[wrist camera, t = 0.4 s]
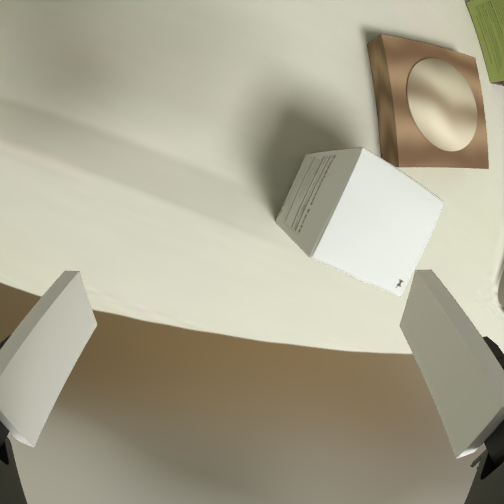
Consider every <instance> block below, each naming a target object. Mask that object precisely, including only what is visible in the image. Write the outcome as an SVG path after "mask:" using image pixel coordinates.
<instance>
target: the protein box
mask: <svg viewBox="0 0 504 504" xmlns="http://www.w3.org/2000/svg"><path fill="white" fill-rule="evenodd" d="M466 5H467V7H468V10H469V12H470V15H471V18H472V21H473V23H474V26H475V29H476V32H477V35H478V39H479V42H480V45H481V49H482V52H483V55H484V59H485V63H486V67H487V71H488V75H489V79H490V82H491V83H494V84H498V85H502V86H504V0H470V1H468V2H466Z"/></svg>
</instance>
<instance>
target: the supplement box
mask: <svg viewBox="0 0 504 504" xmlns="http://www.w3.org/2000/svg"><path fill="white" fill-rule="evenodd" d="M443 205H444V201H443V200H441V199H440V198H439V197H437V196H436V195H435V194H433V193H432V192H431V191H429V190H428V189H426V188H425V187H424V186H422V185H421V184H419V183H418V182H417V181H415V180H414V179H412V178H411V177H409V176H408V175H406V174H405V173H403V172H402V171H401V170H399V169H397V168H396V167H394V166H393V165H391V164H390V163H388V162H387V161H385V160H384V159H382V158H380V157H379V156H377V155H375V154H374V153H372V152H370V151H369V150H367V149H365V148H364V147H359V148H350V149H342V150H333V151H325V152H317V153H311V154H306V155H305V157H304V159H303V162H302V164H301V166H300V168H299V170H298V173H297V175H296V177H295V179H294V181H293V184H292V186H291V188H290V190H289V192H288V195H287V197H286V199H285V201H284V203H283V206H282V208H281V210H280V212H279V214H278V217H277V219H276V221H275V222H276V224H277V225H278V226H279V227H280V228H282V230H283V231H284V232H285V233H286V234H287V235H288V236H289V237H290V238H291V239H292V240H293V241H294V242H295V243H296V244H297V245H298V246H299V247H300V248H301V249H302V250H303V251H304V252H305V253H306V254H307V255H308V256H309V257H310V258H311V259H312V260H315V261H317V262H319V263H322V264H324V265H326V266H329V267H331V268H333V269H335V270H338V271H340V272H342V273H345V274H347V275H349V276H351V277H354V278H355V279H357V280H359V281H362V282H365V283H367V284H370V285H372V286H374V287H376V288H379V289H381V290H383V291H385V292H388V293H390V294H392V295H395V296H397V297H401V295H402V293H403V291H404V289H405V287H406V285H407V283H408V281H409V279H410V277H411V275H412V273H413V271H414V269H415V267H416V265H417V263H418V261H419V259H420V257H421V255H422V253H423V251H424V249H425V247H426V244H427V242H428V240H429V238H430V236H431V234H432V232H433V230H434V228H435V225H436V223H437V221H438V219H439V216H440V213H441V211H442V208H443Z"/></svg>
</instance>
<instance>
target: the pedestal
mask: <svg viewBox="0 0 504 504" xmlns="http://www.w3.org/2000/svg"><path fill="white" fill-rule="evenodd" d="M367 46H368V52H369V57H370V63H371V69H372V75H373V82H374V89H375V96H376V104H377V112H378V121H379V132H380V143H381V156H382V159H384V160H385V161H387V162H388V163H390V164H391V165H393V166H394V167H450V168H480V169H489V163H488V144H487V132H486V121H485V113H484V105H483V98H482V91H481V85H480V80H479V74H478V69H477V64H476V60H475V58H474V57H471V56H468V55H465V54H462V53H459V52H456V51H452V50H449V49H446V48H442V47H438V46H435V45H431V44H427V43H423V42H418V41H414V40H409V39H405V38H400V37H395V36H389V35H384V34H381V35H380V36H378V37H377V38H375V39H374V40H373V41H371V42H370V43H368V44H367Z"/></svg>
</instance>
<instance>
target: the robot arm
mask: <svg viewBox="0 0 504 504" xmlns="http://www.w3.org/2000/svg"><path fill="white" fill-rule="evenodd" d="M96 326H97V322H96V320H95V317H94V314H93V311H92V309H91V306H90V303H89V300H88V297H87V294H86V291H85V288H84V285H83V281H82V278H81V275H80V272H79V271H64V272H63V274H62V275H61V276H60V277H59V278H58V279H57V280H56V281H55V282H54V284H53V285H52V286H51V287H50V288H49V289H48V290H47V292H46V293H45V294H44V295H43V296H42V297H41V299H40V300H39V301H38V302H37V303H36V305H35V306H34V307H33V308H32V309H31V311H30V312H29V313H28V314H27V316H26V317H25V318H24V319H23V321H22V322H21V323H20V325H19V326H18V327H17V328H16V330H15V331H14V332H13V333H12V334H11V335H10V336H9V337H7V338H6V339H5V340H4V341H2V342H1V343H0V504H27V501H26V498H25V495H24V492H23V489H22V485H21V482H20V478H19V475H18V471H17V467H16V463H15V459H14V455H13V450H12V445H11V442H10V440H9V439H8V437H7V435H8V433H9V432H10V433H11V434H12V435H13V436H14V437H15V438H16V439H17V440H18V441H20V442H22V443H24V444H27V445H29V446H31V447H34V446H35V444H36V441H37V439H38V437H39V435H40V433H41V430H42V428H43V426H44V424H45V422H46V420H47V418H48V416H49V414H50V411H51V409H52V407H53V405H54V403H55V401H56V399H57V397H58V395H59V393H60V391H61V389H62V388H63V385H64V384H65V381H66V380H67V378H68V376H69V374H70V372H71V370H72V369H73V367H74V364H75V363H76V361H77V359H78V358H79V356H80V354H81V352H82V350H83V349H84V347H85V345H86V343H87V341H88V340H89V338H90V336H91V335H92V333H93V331H94V329H95V327H96ZM400 328H401V330H402V332H403V334H404V336H405V338H406V340H407V342H408V344H409V346H410V348H411V350H412V353H413V355H414V357H415V359H416V361H417V363H418V365H419V368H420V370H421V372H422V374H423V377H424V379H425V381H426V383H427V385H428V388H429V390H430V393H431V395H432V397H433V400H434V402H435V404H436V407H437V409H438V412H439V414H440V417H441V419H442V422H443V424H444V427H445V430H446V432H447V434H448V437H449V440H450V443H451V446H452V448H453V451H454V454H455V457H456V458H460V457H462V456H465V455H468V454H470V453H473V452H475V451H476V450H477V449H478V448H479V447H480V446H481V445H482V444H483V443H485V446H486V448H487V449H486V450H485V451H484V452H483V453H482V454H481V455H480V456H479V457H478V458H476V459H475V460H474V461H473V463H472V465H471V467H474V466H475V465H476V464H477V463H478V462H479V461H480V463H479V466H478V467H477V472H476V475H475V478H474V481H473V483H472V486H471V488H470V491H469V494H468V496H467V499H466V501H465V503H464V504H504V354H503V353H502V351H501V350H500V348H499V347H498V345H497V344H495V343H494V342H493V341H492V340H491V339H489V338H488V337H487V336H486V337H482V336H481V335H480V333H479V332H478V330H477V329H476V328H475V326H474V325H473V323H472V322H471V321H470V319H469V318H468V316H467V315H466V314H465V312H464V311H463V309H462V308H461V307H460V305H459V304H458V303H457V301H456V300H455V299H454V297H453V296H452V295H451V294H450V292H449V291H448V290H447V288H446V287H445V286H444V285H443V283H442V282H441V281H440V279H439V278H438V277H437V276H436V274H435V273H434V272H433V271H432V270H415V274H414V278H413V281H412V285H411V289H410V292H409V296H408V299H407V303H406V306H405V310H404V313H403V316H402V319H401V323H400Z"/></svg>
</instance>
